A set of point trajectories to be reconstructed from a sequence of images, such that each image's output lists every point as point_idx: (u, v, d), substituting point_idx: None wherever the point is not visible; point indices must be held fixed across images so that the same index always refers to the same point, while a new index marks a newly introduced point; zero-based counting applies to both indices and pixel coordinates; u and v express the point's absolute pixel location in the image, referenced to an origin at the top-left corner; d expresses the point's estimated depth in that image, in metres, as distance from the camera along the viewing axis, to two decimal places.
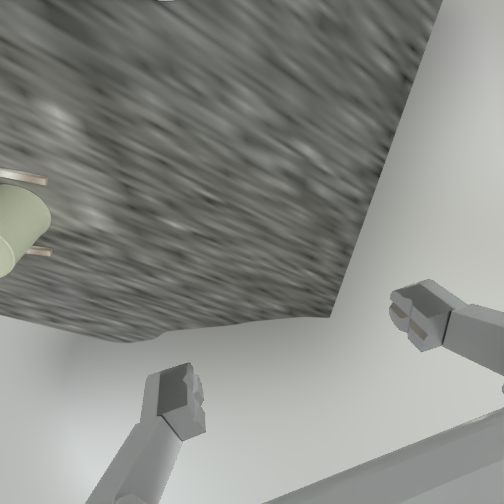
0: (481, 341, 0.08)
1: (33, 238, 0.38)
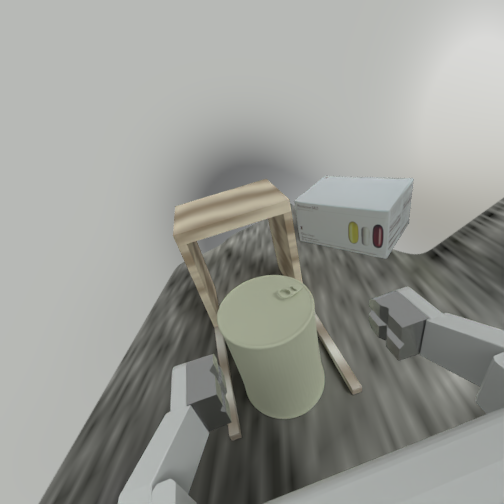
0: (455, 351, 0.08)
1: (284, 384, 0.23)
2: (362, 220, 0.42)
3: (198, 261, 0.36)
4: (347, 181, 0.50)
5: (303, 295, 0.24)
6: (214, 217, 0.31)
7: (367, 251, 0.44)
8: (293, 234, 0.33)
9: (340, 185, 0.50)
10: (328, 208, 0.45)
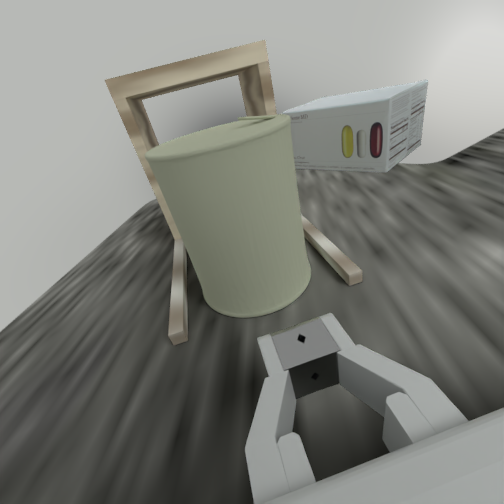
0: (365, 385, 0.08)
1: (244, 244, 0.15)
2: (358, 120, 0.34)
3: None
4: (347, 93, 0.42)
5: (275, 118, 0.16)
6: None
7: (364, 166, 0.37)
8: (272, 101, 0.25)
9: (338, 96, 0.42)
10: (318, 113, 0.37)
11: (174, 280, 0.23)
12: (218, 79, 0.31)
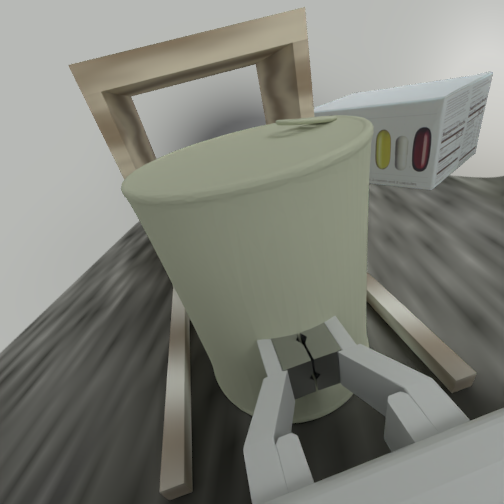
0: (366, 384, 0.08)
1: None
2: (399, 124, 0.27)
3: (144, 162, 0.21)
4: (385, 89, 0.35)
5: (340, 123, 0.10)
6: None
7: (402, 180, 0.30)
8: (310, 97, 0.18)
9: (373, 92, 0.35)
10: (348, 113, 0.30)
11: (172, 357, 0.16)
12: (230, 69, 0.24)
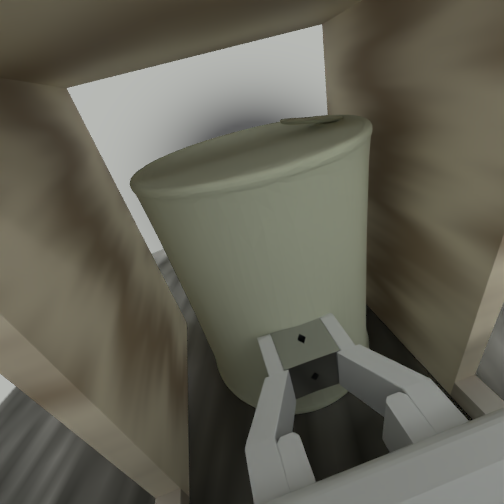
0: (364, 385, 0.08)
1: (272, 329, 0.09)
2: None
3: (76, 248, 0.08)
4: None
5: (343, 123, 0.10)
6: None
7: None
8: None
9: None
10: None
11: None
12: (275, 33, 0.11)
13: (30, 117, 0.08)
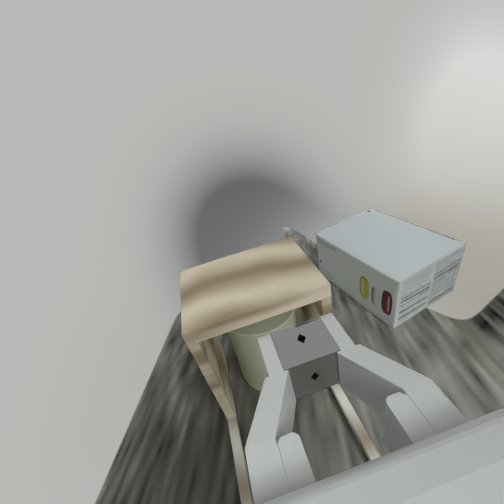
0: (365, 384, 0.08)
1: None
2: (373, 280, 0.37)
3: (209, 344, 0.29)
4: (386, 223, 0.43)
5: None
6: (233, 304, 0.24)
7: (376, 312, 0.39)
8: None
9: (374, 226, 0.43)
10: (343, 253, 0.40)
11: None
12: None
13: None
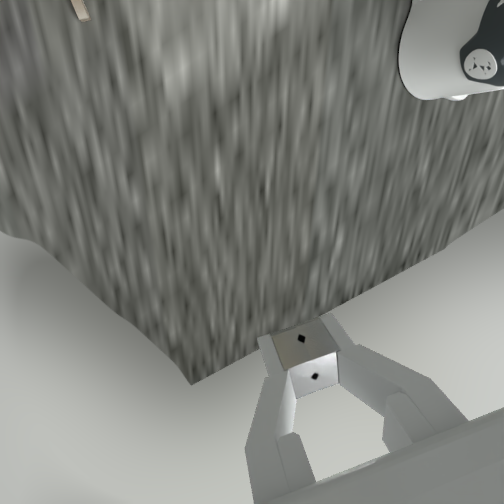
0: (365, 385, 0.08)
1: None
2: None
3: None
4: None
5: None
6: None
7: None
8: None
9: None
10: None
11: None
12: None
13: None
